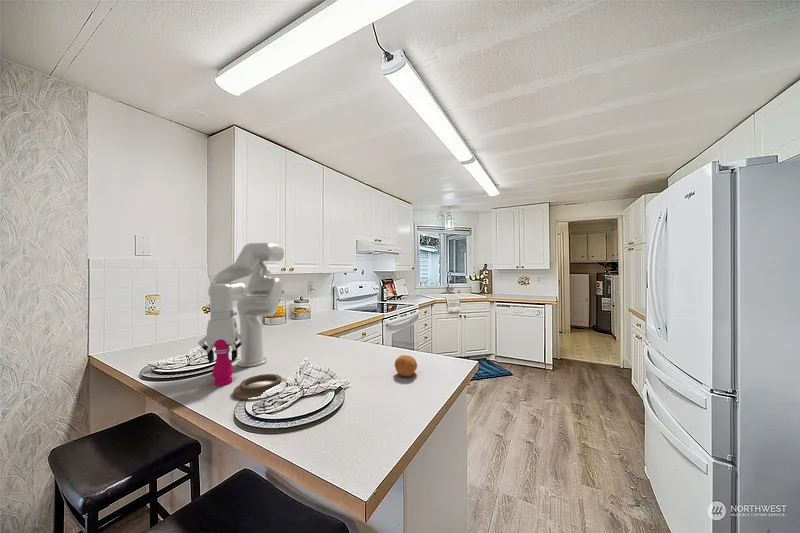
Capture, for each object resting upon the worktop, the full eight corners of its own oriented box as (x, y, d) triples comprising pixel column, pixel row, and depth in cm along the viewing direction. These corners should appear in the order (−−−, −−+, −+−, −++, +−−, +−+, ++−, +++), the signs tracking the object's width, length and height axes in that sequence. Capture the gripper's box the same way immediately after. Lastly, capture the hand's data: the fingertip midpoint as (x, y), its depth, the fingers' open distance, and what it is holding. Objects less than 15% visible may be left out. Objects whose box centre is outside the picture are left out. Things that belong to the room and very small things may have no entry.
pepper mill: (224, 387, 113) (222, 334, 113) (207, 386, 115) (206, 333, 115) (238, 380, 120) (236, 330, 120) (222, 379, 122) (221, 329, 122)
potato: (390, 377, 120) (389, 358, 120) (400, 368, 130) (400, 350, 130) (412, 380, 116) (411, 360, 116) (420, 370, 127) (420, 352, 127)
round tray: (241, 382, 117) (241, 374, 117) (290, 377, 121) (290, 370, 121) (226, 403, 100) (225, 393, 100) (283, 396, 104) (283, 387, 104)
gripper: (248, 312, 123) (249, 356, 123) (200, 315, 119) (201, 360, 119) (243, 315, 116) (244, 361, 116) (192, 318, 112) (193, 366, 112)
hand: (222, 360), depth 117 cm, fingers open, 7 cm apart
